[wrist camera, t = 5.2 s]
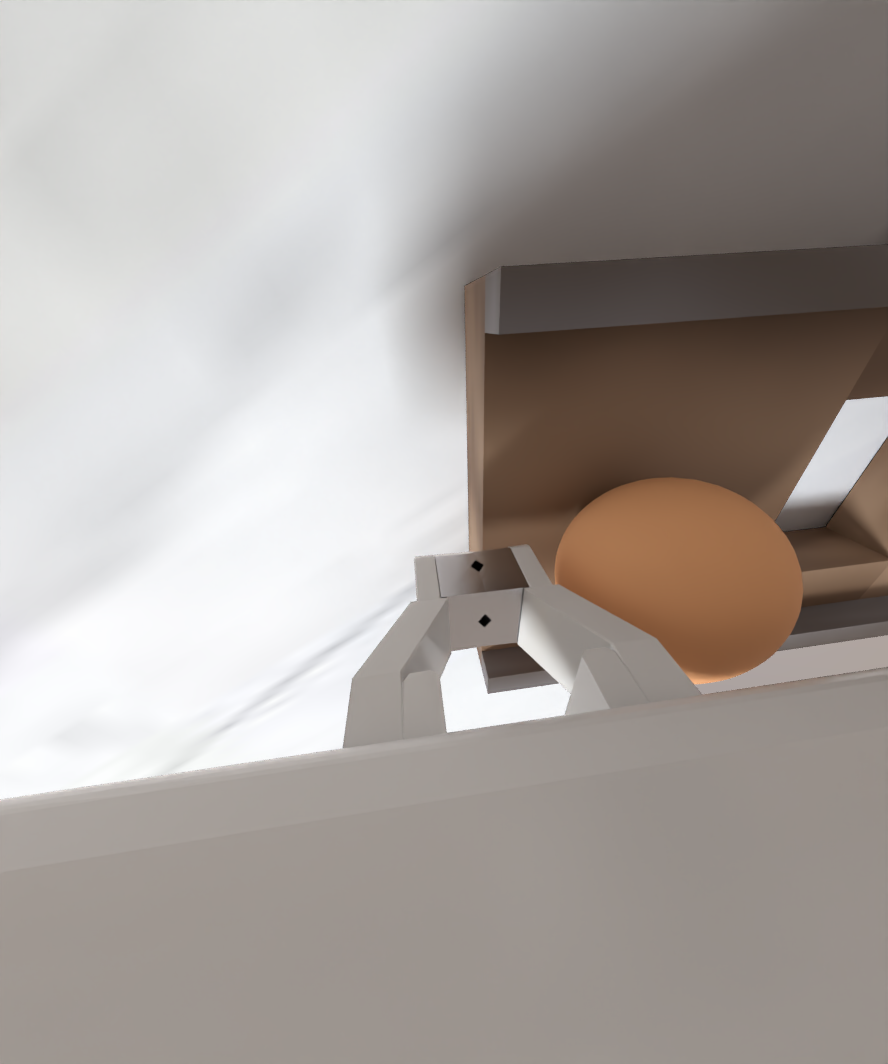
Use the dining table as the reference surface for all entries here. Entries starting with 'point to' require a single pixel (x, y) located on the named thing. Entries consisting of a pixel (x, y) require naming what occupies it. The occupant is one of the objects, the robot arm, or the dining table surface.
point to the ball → (687, 572)
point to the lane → (678, 407)
